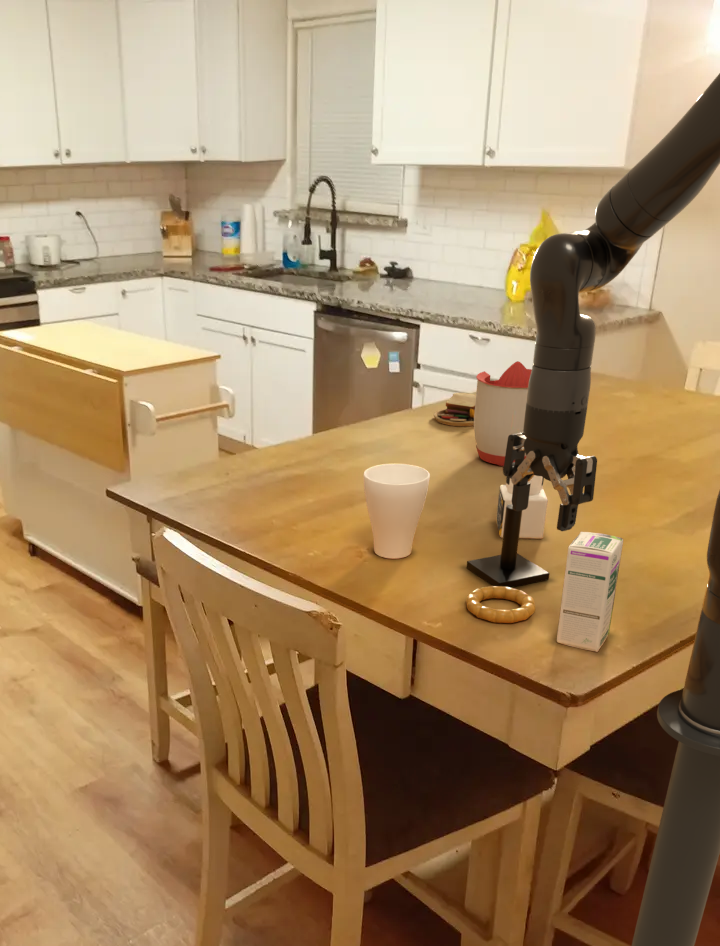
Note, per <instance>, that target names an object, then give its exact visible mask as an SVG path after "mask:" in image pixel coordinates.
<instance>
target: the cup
mask: <svg viewBox="0 0 720 946" xmlns="http://www.w3.org/2000/svg"><path fill="white" fill-rule="evenodd" d="M430 478H431V473H430V472H429V471H428V470H427V469H426V468H424V467H421V466H418V465H415V464H408V463H394V462H393V463H383V464H376V465H373V466H370V467H368V468H366V469H365V470H364V472H363V491H364V497H365V504H366V509H367V513H368V516H369V520H370V526H371V531H372V536H373V552H374V553H375V554H376V555H377V556H379V557H381V558H384V559H389V560H391V559H393V560H399V559H404V558H407V557H408V556H410V555H411V554H412V549H413V542H414V537H415V534H416V531H417V527H418V524H419V521H420V519H421V515H422V513H423V511H424V507H425V504H426V503H425V502H426V500H427V499H426V498H427V495H428V491H429V485H430Z"/></svg>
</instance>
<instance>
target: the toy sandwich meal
mask: <svg viewBox="0 0 720 946" xmlns="http://www.w3.org/2000/svg"><path fill="white" fill-rule="evenodd" d="M475 402H476V394H474V393H467V392H454V393H452V396H450V398H449V399H448V400H447V401H446V402H445V407H446V408H443V409H439V410H437V411H435V412H434V413H433V418H434V419H435V420H436V421H437V422H438V423H440V424H443V425H446V426H452V427H474V414H475Z"/></svg>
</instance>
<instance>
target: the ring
mask: <svg viewBox="0 0 720 946" xmlns="http://www.w3.org/2000/svg"><path fill="white" fill-rule="evenodd" d="M489 599H500V600H501V599H502V600H504V599H505V600H507V601H512V602H515V603H517V604H518V605H520V607H518V608H514V609H495V608H491V607H488V606H485V605H484V604H482V603H481V602H482V601H485V600H489ZM465 602H466V609H467V610H468V611H469V612H470V613H471V614H472V615H474V616H475V617H477V618H478V619H482V620H484V621H488V622H491V623H500V624H501V623H502V624H503V623H504V624H512V623H517V622H522V621H525V620H527V619H529V618H530V617H531V616H532V615H533V614H534V613H536V604H535V600H534V598H533V597H532V596H530V595H529V594H527V593H526V592H525V591H523V590H521V589H517V588H515V587H512V588H510V587H502V586H492V585H488V586H485V587H479V588H476V589H475V590H473V591H471V592H470V593H469V594H468V595H467V596H466V599H465Z"/></svg>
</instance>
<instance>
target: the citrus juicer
mask: <svg viewBox="0 0 720 946" xmlns="http://www.w3.org/2000/svg"><path fill="white" fill-rule="evenodd" d="M531 371H532V368H527V367H525V365H524V364H523V363H522V362H521V361H515V362H513V363H512V364H511V365H510V366H509V367H507V369H506V370H504V371H503V373H502V374H501V375H500V377H499V378H498V379H495V380H491V374H490V373H488V372H487V371H482V372H479V373H477V375H476V376H475V377H476V380H477V381H476V392H475V395H476V402H475V414H474V425H473V433H474V441H475V444H476V445H475V447H476V451H477V453H478V457H479V458H480V459H481V461H484V462H487V463H489V464H494V465H497V466H499V467H504V461H505V454H506V448H507V441H508V436H509V435H511V434H516V433H521V432H523V427H524V419H525V410H526V401H527V393H528V384H529V379H530V375H531ZM525 458H526V453H525V457H524V459H525ZM513 462H515V460H514V461H513Z"/></svg>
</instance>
